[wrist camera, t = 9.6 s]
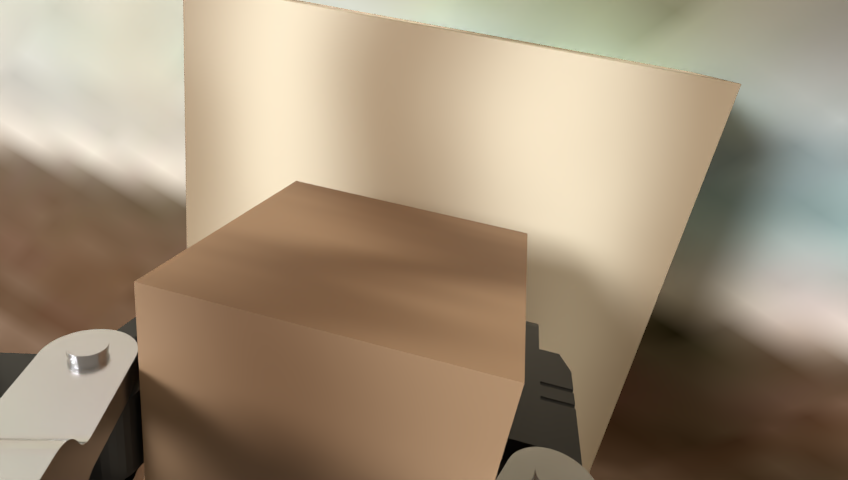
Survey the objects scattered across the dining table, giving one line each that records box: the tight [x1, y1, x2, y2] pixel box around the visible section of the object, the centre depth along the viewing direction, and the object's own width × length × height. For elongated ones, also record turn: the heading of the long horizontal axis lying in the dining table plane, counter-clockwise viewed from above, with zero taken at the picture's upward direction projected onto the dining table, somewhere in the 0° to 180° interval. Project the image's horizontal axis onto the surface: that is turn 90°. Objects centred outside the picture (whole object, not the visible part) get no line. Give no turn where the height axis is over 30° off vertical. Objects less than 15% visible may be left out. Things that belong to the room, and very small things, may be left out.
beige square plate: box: [183, 0, 741, 473], centre depth 15 cm, size 12×12×4 cm
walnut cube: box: [134, 181, 527, 480], centre depth 10 cm, size 5×5×5 cm
